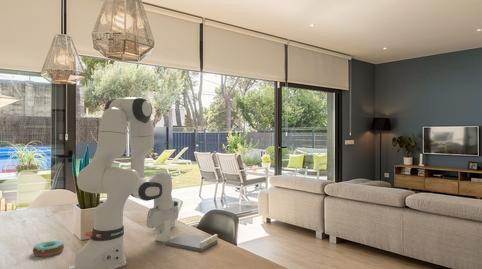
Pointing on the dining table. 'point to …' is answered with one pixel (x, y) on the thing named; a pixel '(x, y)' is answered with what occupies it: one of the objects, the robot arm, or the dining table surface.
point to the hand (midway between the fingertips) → (162, 232)
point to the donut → (48, 248)
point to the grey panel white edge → (192, 242)
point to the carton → (163, 232)
